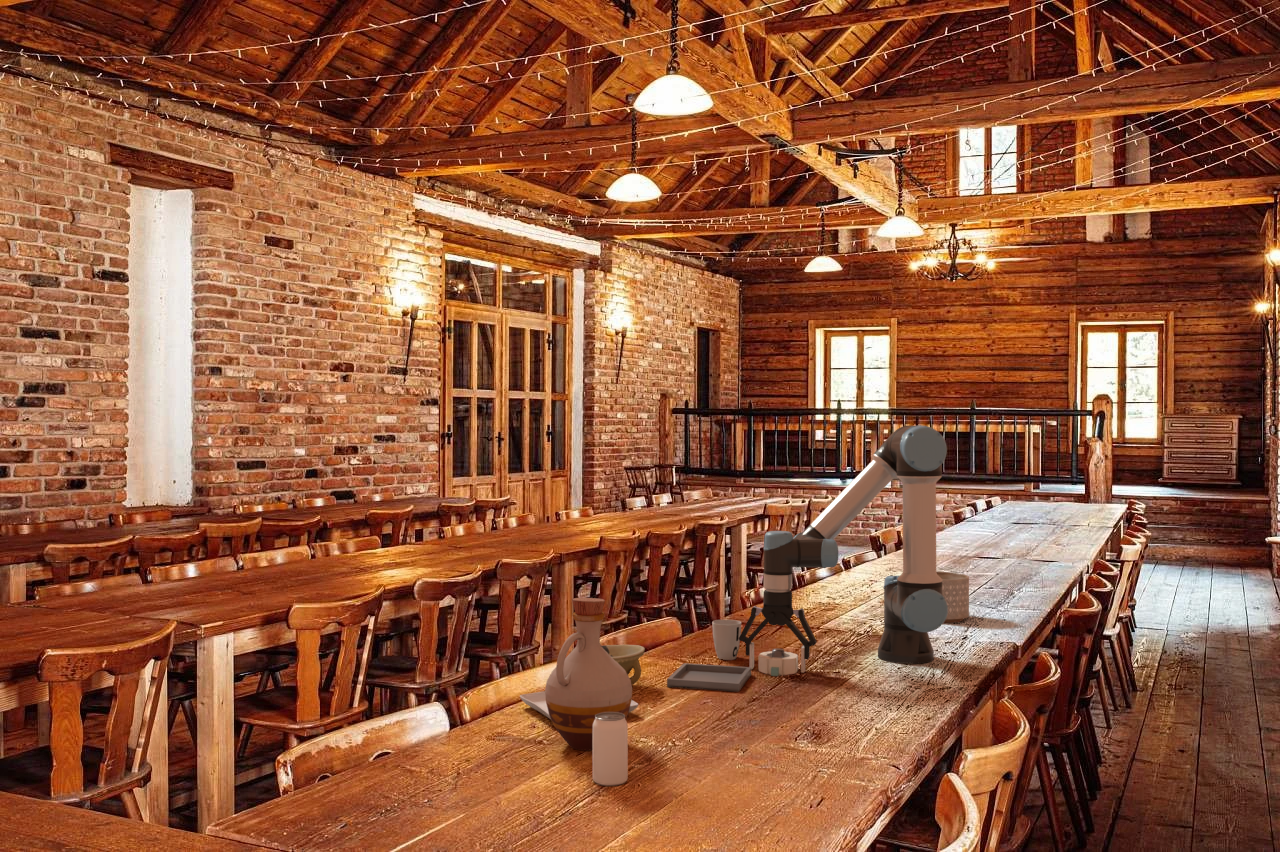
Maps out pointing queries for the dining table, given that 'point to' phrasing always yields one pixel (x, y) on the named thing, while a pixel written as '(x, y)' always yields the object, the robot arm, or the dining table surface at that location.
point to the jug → (585, 679)
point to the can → (610, 749)
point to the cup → (726, 638)
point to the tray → (709, 677)
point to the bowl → (627, 658)
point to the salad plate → (540, 705)
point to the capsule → (778, 653)
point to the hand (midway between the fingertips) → (777, 669)
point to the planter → (955, 595)
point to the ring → (778, 664)
